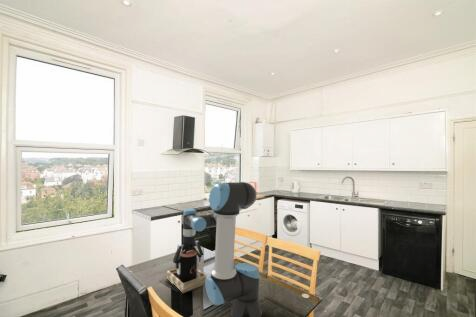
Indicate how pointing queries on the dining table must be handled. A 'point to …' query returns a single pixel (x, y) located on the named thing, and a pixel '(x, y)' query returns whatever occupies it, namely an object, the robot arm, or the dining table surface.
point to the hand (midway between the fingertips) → (188, 270)
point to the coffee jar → (188, 266)
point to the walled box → (186, 286)
